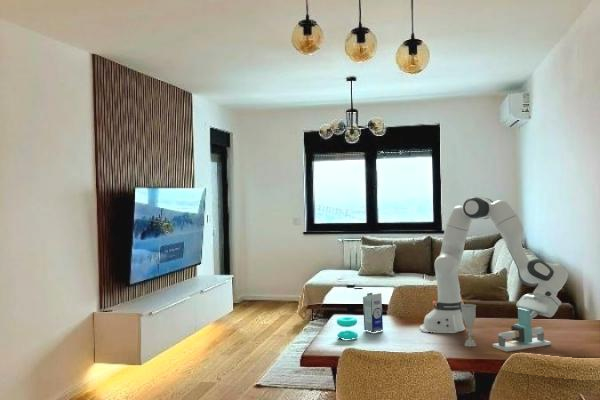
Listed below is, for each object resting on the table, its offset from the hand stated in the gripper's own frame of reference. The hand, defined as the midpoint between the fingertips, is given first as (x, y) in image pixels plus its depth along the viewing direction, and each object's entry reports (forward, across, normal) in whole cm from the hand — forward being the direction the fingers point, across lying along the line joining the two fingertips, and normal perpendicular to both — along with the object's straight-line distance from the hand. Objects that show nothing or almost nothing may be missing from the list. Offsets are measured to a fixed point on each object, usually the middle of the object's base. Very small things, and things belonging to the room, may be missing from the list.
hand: (526, 319), depth 248 cm
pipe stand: (+10, 0, +6) cm, 12 cm away
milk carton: (+43, -55, -27) cm, 75 cm away
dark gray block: (+10, 0, +2) cm, 10 cm away
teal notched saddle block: (+8, 0, +5) cm, 10 cm away
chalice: (+24, -11, -8) cm, 28 cm away
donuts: (+56, -48, -39) cm, 83 cm away
